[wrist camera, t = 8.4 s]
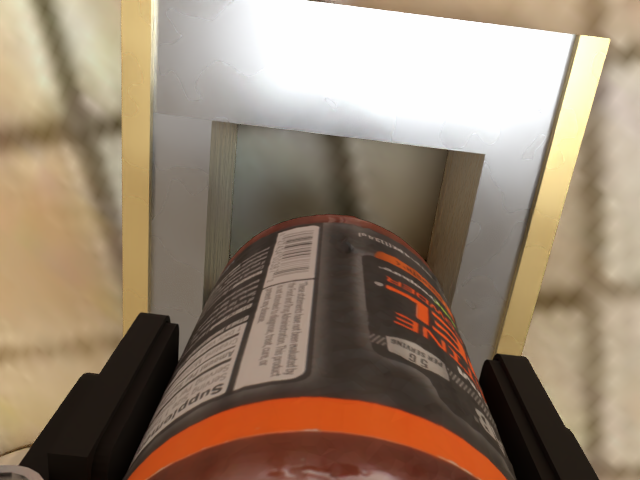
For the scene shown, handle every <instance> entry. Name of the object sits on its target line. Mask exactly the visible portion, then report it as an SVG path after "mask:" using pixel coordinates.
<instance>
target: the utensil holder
mask: <svg viewBox="0 0 640 480" xmlns="http://www.w3.org/2000/svg"><path fill="white" fill-rule="evenodd" d="M30 448H31V447H29V448H24V449H21V450H18V451H15V452H12V453H9V454H7V455H4V456H2V457H0V465H19V463H20V462H21V461H22V459H23V458H24V456H25V455H26V454H27V452H28V451H29V449H30Z"/></svg>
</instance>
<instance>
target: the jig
mask: <svg viewBox="0 0 640 480" xmlns="http://www.w3.org/2000/svg"><path fill="white" fill-rule="evenodd" d="M609 42H610V39H608V38H600V37H592V36H584V35H574V34H566V33H559V32H551V31H543V30H535V29H527V28H519V27H511V26H503V25H495V24H487V23H480V22H472V21H464V20H456V19H448V18H440V17H432V16H424V15H416V14H409V13H401V12H393V11H385V10H377V9H369V8H361V7H353V6H345V5H338V4H330V3H322V2H314V1H306V0H121V56H122V243H123V337H124V336H125V334H126V333H127V331H128V330H129V328H130V327H131V325H132V324H133V322H134V320H135V319H136V317H137V316H138V315H139V313H141V312H143V313H152V314H161V315H169V317H170V321H171V323H176V324H178V325H179V356H178V362H179V360H180V358H181V356H182V354H183V351H184V349H185V347H186V345H187V343H188V340H189V338H190V336H191V334H192V332H193V330H194V328H195V325H196V323H197V321H198V319H199V317H200V315H201V313H202V311H203V309H204V306H205V304H206V302H207V300H208V298H209V295H210V293H211V291H212V289H213V287H214V286H215V284H216V282H217V281H218V279H219V277H220V275H221V273H222V272H223V270H224V268H225V267H226V265H227V263H228V262H229V248H230V233H231V218H232V203H233V188H234V173H235V158H236V143H237V128H238V124H245V125H253V126H261V127H269V128H277V129H285V130H293V131H302V132H310V133H318V134H326V135H334V136H342V137H350V138H358V139H366V140H374V141H382V142H391V143H399V144H407V145H415V146H423V147H431V148H439V149H447V150H448V155H447V160H446V165H445V170H444V175H443V180H442V185H441V190H440V195H439V200H438V205H437V210H436V215H435V220H434V225H433V230H432V235H431V240H430V245H429V250H428V255H427V260H426V263H427V265H428V266H429V268H430V270H431V271H432V273H433V274H434V275H435V276H436V278H437V279H438V282H439V284H440V286H441V288H442V289H443V291H444V296H445V298H446V300H447V302H448V304H449V307H450V310H451V312H452V314H453V316H454V318H455V321H456V324H457V328H458V331H459V333H460V335H461V338H462V340H463V342H464V344H465V346H466V350H467V353H468V356H469V358H470V361H471V365H472V367H473V370H474V372H475V374H476V377H477V379H478V381H479V378H480V374H481V370H482V366H483V363H484V361H485V360H487V359H488V360H493V357H494V356H495V355H496V354H497V353H498V354H506V355H515V356H521V354H522V351H523V347H524V344H525V340H526V336H527V333H528V329H529V326H530V322H531V319H532V315H533V312H534V308H535V305H536V301H537V297H538V294H539V290H540V287H541V283H542V280H543V276H544V273H545V269H546V266H547V262H548V259H549V255H550V251H551V248H552V244H553V241H554V237H555V234H556V230H557V227H558V223H559V220H560V216H561V212H562V209H563V205H564V202H565V198H566V195H567V191H568V188H569V184H570V181H571V177H572V174H573V170H574V166H575V163H576V159H577V156H578V152H579V149H580V145H581V142H582V138H583V135H584V131H585V127H586V124H587V120H588V117H589V113H590V110H591V106H592V103H593V99H594V96H595V92H596V88H597V85H598V81H599V78H600V74H601V71H602V67H603V64H604V60H605V57H606V53H607V50H608V46H609Z"/></svg>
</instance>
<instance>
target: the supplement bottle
mask: <svg viewBox="0 0 640 480" xmlns="http://www.w3.org/2000/svg"><path fill="white" fill-rule="evenodd" d="M122 480H517V479H516V476H515V473H514V470H513V466H512V464H511V462H510V461H509V459H508V456H507V454H506V451H505V448H504V446H503V444H502V441H501V438H500V435H499V433H498V430H497V427H496V424H495V422H494V420H493V418H492V415H491V413H490V410H489V408H488V406H487V403H486V401H485V399H484V395H483V390H482V388H481V386H480V384H479V381H478V379H477V377H476V374H475V372H474V370H473V367H472V365H471V361H470V358H469V356H468V353H467V350H466V346H465V344H464V342H463V340H462V338H461V335H460V333H459V331H458V328H457V324H456V321H455V318H454V316H453V314H452V312H451V310H450V307H449V304H448V302H447V300H446V298H445V296H444V291H443V289H442V288H441V286H440V284H439V282H438V279H437V278H436V276H435V275H434V274H433V273H432V271H431V270H430V268H429V266H428V265H427V263H426V262H425V261H424V259H423V258H422V257H421V256H420V255H419V254H418V253H417V252H416V251H415V250H414V249H413V248H412V247H410V246H409V245H408V244H407V243H406V242H405V241H403V240H402V239H401V238H400V237H398V236H397V235H395V234H393V233H392V232H390V231H388V230H386V229H384V228H382V227H380V226H378V225H375V224H373V223H371V222H368V221H364V220H361V219H358V218H356V217H354V216H348V215H334V214H324V215H314V216H306V217H299V218H296V219H291V220H288V221H285V222H282V223H279V224H277V225H274V226H272V227H270V228H268V229H267V230H264V231H262V232H261V233H259V234H258V235H256V236H255V237H253V238H252V239H251V240H250V241H248V242H247V243H246V244H245V245H244V246H243V247H241V248H240V249H239V251H238V252H237V253H236V254H235V255H234V256H233V257H232V258H231V259H230V261H229V262H228V263H227V265H226V267H225V268H224V270H223V272H222V273H221V275H220V277H219V279H218V281H217V282H216V284H215V286H214V287H213V289H212V291H211V293H210V295H209V298H208V300H207V302H206V304H205V306H204V309H203V311H202V313H201V315H200V317H199V319H198V321H197V323H196V325H195V328H194V330H193V332H192V334H191V336H190V338H189V340H188V343H187V345H186V347H185V349H184V351H183V354H182V356H181V358H180V360H179V362H178V364H177V366H176V368H175V370H174V372H173V375H172V377H171V379H170V380H169V382H168V384H167V386H166V388H165V391H164V393H163V396H162V398H161V401H160V403H159V405H158V407H157V409H156V411H155V413H154V415H153V418H152V420H151V422H150V424H149V426H148V428H147V431H146V433H145V435H144V437H143V439H142V441H141V443H140V445H139V447H138V449H137V451H136V454H135V456H134V458H133V460H132V462H131V464H130V467H129V469H128V471H127V473H126V474H125V476H124V477H123V479H122Z"/></svg>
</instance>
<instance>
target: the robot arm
mask: <svg viewBox="0 0 640 480" xmlns="http://www.w3.org/2000/svg"><path fill="white" fill-rule="evenodd" d="M178 356H179V325H178V324H176V323H171V321H170V317H169V315H161V314H152V313H143V312H141V313H139V315H138V316H137V317H136V319H135V320H134V322H133V324H132V325H131V327H130V328H129V330H128V331H127V333H126V334H125V336H124V337H123V339H122V340H121V342H120V343H119V345H118V346H117V348H116V349H115V351H114V352H113V354H112V355H111V357H110V358H109V360H108V362H107V363H106V365H105V366H104V368H103V369H102V371H101V372H100V374H95V373H85V374H83V375H82V376H81V377H80V378H79V380H78V381H77V383H76V384H75V385H74V387H73V388H72V390H71V391H70V392H69V394H68V395H67V397H66V398H65V400H64V401H63V402H62V404H61V405H60V407H59V408H58V410H57V411H56V412H55V414H54V415H53V417H52V418H51V419H50V421H49V422H48V424H47V425H46V427H45V428H44V429H43V431H42V432H41V434H40V435H39V436H38V438H37V439H36V441H35V442H34V444H33V445H32V446H31V448H30V449H29V451H28V452H27V454H26V455H25V456H24V458H23V459H22V461H21V462H20V463H19V465H0V480H122V479H123V477H124V476H125V474H126V473H127V471H128V469H129V467H130V464H131V462H132V460H133V458H134V456H135V454H136V451H137V449H138V447H139V445H140V443H141V441H142V439H143V437H144V435H145V433H146V431H147V428H148V426H149V424H150V422H151V420H152V418H153V415H154V413H155V411H156V409H157V407H158V405H159V403H160V401H161V398H162V396H163V393H164V391H165V388H166V386H167V384H168V382H169V380H170V379H171V377H172V375H173V372H174V370H175V368H176V366H177V364H178ZM479 384H480V386H481V388H482V390H483V395H484V399H485V401H486V403H487V406H488V408H489V410H490V413H491V415H492V418H493V420H494V422H495V424H496V427H497V430H498V433H499V435H500V438H501V441H502V444H503V446H504V448H505V451H506V454H507V456H508V459H509V461H510V462H511V464H512V466H513V470H514V473H515V476H516V479H517V480H599V479H598V477H597V475H596V473H595V472H594V470H593V468H592V466H591V465H590V463H589V461H588V459H587V457H586V456H585V454H584V452H583V450H582V449H581V447H580V445H579V443H578V442H577V440H576V438H575V436H574V435H573V433H572V432H571V431H570V429H568V428H566V427H565V425H564V424H563V422H562V420H561V418H560V416H559V415H558V413H557V411H556V409H555V407H554V406H553V404H552V402H551V400H550V398H549V397H548V395H547V393H546V391H545V390H544V388H543V386H542V384H541V382H540V381H539V379H538V377H537V375H536V373H535V372H534V370H533V368H532V366H531V364H530V363H529V361H528V359H527V358H526V357H523V356H515V355H506V354H498V353H497V354H496V355H495V356H494V357H493V360H488V359H487V360H485V361H484V363H483V366H482V370H481V374H480V378H479Z"/></svg>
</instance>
